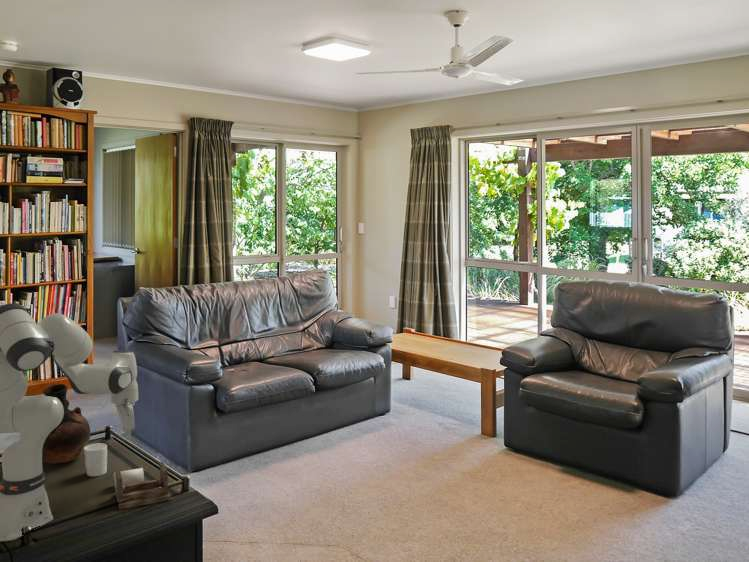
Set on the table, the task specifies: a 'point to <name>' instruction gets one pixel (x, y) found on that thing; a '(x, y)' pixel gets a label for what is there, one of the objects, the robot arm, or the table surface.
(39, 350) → the robot arm
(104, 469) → the white cup
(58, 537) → the table surface
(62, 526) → the table surface
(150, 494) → the roll holder
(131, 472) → the paper roll
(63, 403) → the ceramic vessel
